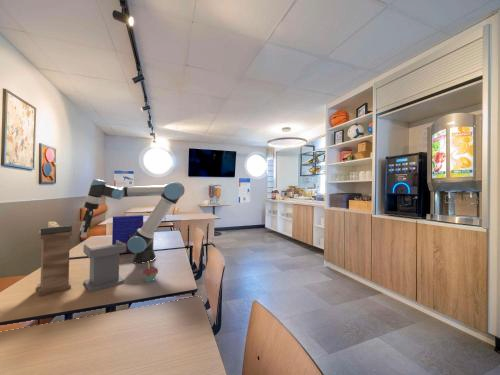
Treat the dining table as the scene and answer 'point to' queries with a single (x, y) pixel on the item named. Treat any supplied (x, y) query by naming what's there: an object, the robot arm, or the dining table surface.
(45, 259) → the pin stand
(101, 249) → the tray stand
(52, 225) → the pin
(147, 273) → the cupcake
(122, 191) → the robot arm
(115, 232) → the cereal box
